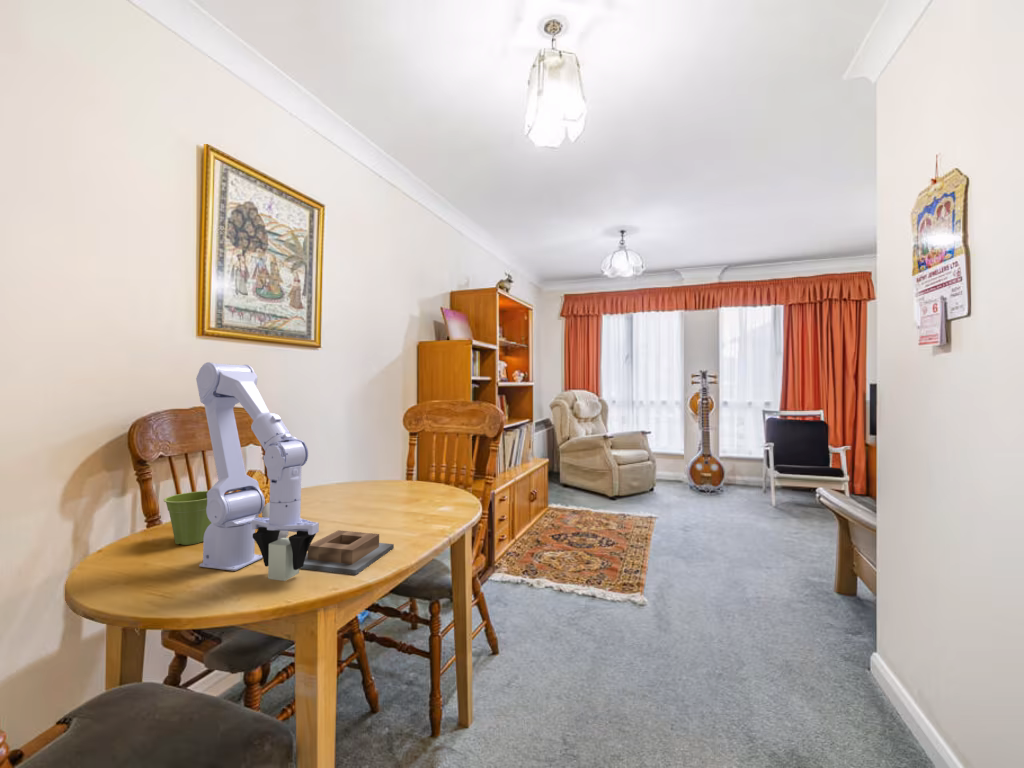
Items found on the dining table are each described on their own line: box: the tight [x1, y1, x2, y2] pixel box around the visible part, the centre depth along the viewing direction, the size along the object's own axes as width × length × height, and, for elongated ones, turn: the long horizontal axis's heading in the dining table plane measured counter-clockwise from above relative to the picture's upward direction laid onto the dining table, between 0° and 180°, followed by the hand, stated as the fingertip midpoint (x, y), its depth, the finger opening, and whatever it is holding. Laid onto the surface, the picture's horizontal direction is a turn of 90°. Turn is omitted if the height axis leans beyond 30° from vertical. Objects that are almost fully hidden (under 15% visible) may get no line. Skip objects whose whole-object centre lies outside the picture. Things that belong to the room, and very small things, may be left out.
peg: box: [267, 537, 300, 582], centre depth 90 cm, size 4×4×7 cm
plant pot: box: [163, 490, 211, 546], centre depth 110 cm, size 12×12×11 cm
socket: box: [300, 529, 395, 576], centre depth 100 cm, size 16×16×4 cm
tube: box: [261, 502, 289, 540], centre depth 119 cm, size 5×5×25 cm
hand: (284, 566), depth 90 cm, fingers open, 6 cm apart
